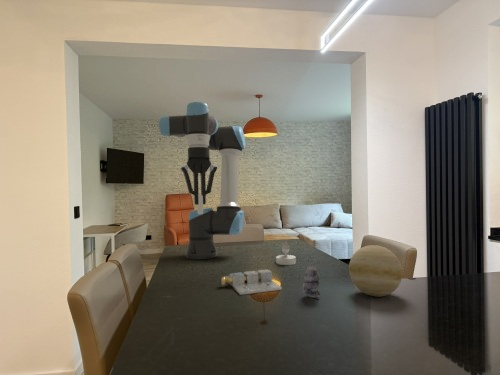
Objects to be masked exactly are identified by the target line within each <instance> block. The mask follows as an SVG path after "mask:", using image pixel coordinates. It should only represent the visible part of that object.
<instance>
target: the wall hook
mask: <svg viewBox="0 0 500 375" xmlns="http://www.w3.org/2000/svg"><path fill="white" fill-rule="evenodd" d="M281 247H282V248H281V249H282V253H283V254H278V255H277V256H275V263H276V265H281V266H282V265H283V266H291V265H295V264H296V262H297V259H296V258H297V257H296V256H295V255H291V254H288V253H289V252H290V244H289V243H288V242H283V243H282V245H281Z"/></svg>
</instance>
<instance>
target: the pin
mask: <svg viewBox="0 0 500 375" xmlns="http://www.w3.org/2000/svg"><path fill="white" fill-rule="evenodd" d="M220 280H221V285H222V286H227V285H228V284H229V283H232V278H225V277H224V276H221V279H220ZM258 280H261V276H260V274H259V275H258ZM246 281H247V276H244V282H246ZM226 284H227V285H226Z"/></svg>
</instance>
